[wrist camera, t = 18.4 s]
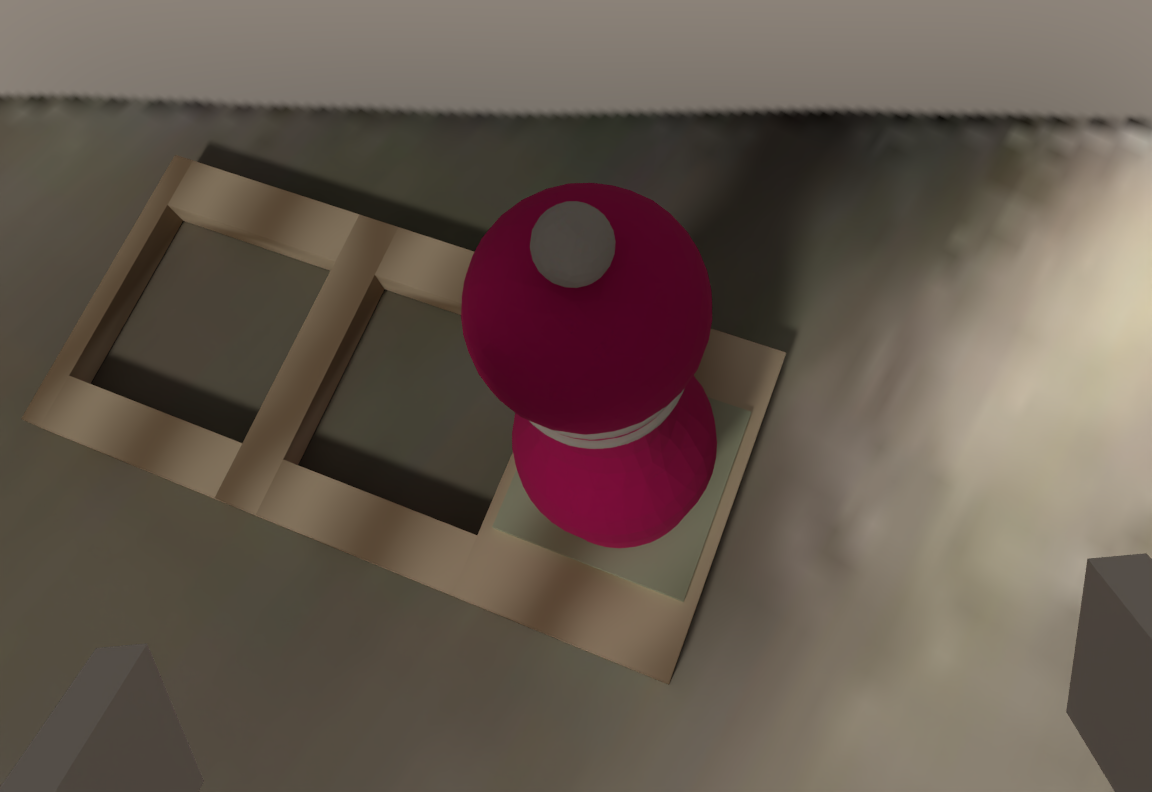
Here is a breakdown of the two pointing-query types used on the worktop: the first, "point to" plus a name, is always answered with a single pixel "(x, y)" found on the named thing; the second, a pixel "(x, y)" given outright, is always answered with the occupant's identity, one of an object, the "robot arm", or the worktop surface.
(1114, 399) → the worktop surface
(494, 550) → the board
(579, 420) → the pepper mill
